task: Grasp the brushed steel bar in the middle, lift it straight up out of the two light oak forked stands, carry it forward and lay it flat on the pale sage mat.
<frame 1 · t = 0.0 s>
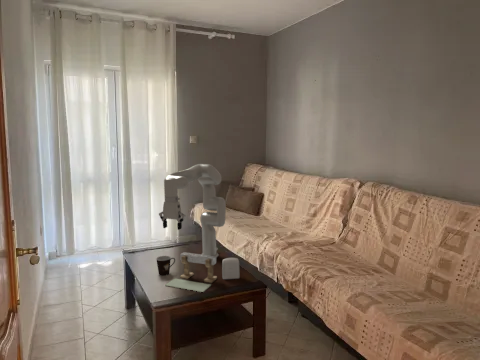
hand: (172, 228, 207), 31 cm above the table, tool pointing down, fingers open, 9 cm apart
forked stand: (198, 277, 213), on the table
steel bar: (198, 261, 212), point 10 cm above the table, touching forked stand
coffee mug: (166, 273, 221), on the table
sage mat: (188, 285, 202), on the table
photo printer: (230, 278, 213), on the table
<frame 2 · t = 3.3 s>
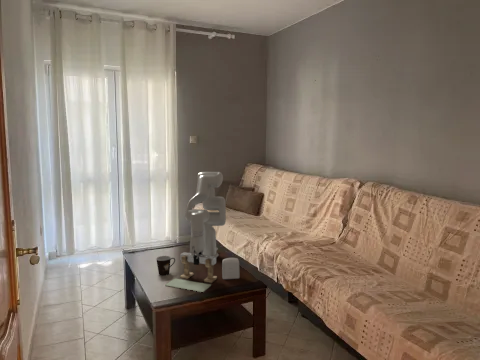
hand: (198, 262, 212), 9 cm above the table, tool pointing down, fingers closed on steel bar, 4 cm apart
steel bar: (198, 261, 212), point 10 cm above the table, touching forked stand, gripper
everything else where it was.
when the fingers open (2 cm above the table, at t = 10.1 s): steel bar drops 2 cm, resting on sage mat.
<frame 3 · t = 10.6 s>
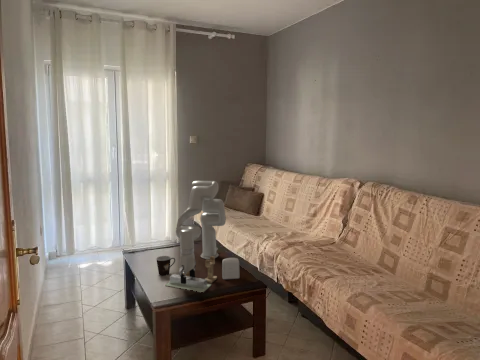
hand: (188, 280, 202), 3 cm above the table, tool pointing down, fingers open, 9 cm apart
steel bar: (188, 284, 202), point 1 cm above the table, touching sage mat
everything else where it was.
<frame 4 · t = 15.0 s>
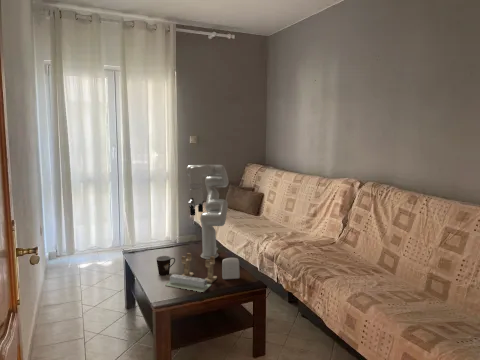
hand: (196, 213, 223), 36 cm above the table, tool pointing down, fingers open, 9 cm apart
nothing on the table moved.
at the end: steel bar inside the target area on the sage mat (0.1 cm from its centre), point 0.6 cm above the sage mat's base; steel bar tilted 0°; the gripper is holding nothing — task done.
